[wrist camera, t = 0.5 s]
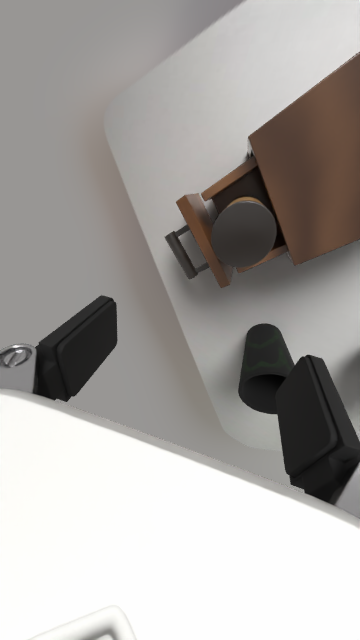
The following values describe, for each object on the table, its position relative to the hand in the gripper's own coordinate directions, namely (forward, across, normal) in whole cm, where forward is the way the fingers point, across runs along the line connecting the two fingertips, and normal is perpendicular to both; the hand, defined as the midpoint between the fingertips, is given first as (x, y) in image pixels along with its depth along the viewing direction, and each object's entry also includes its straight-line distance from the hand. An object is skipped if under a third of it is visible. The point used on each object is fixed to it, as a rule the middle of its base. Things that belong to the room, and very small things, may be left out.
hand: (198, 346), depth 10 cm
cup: (+23, -10, +13) cm, 28 cm away
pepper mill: (+21, -1, -4) cm, 21 cm away
